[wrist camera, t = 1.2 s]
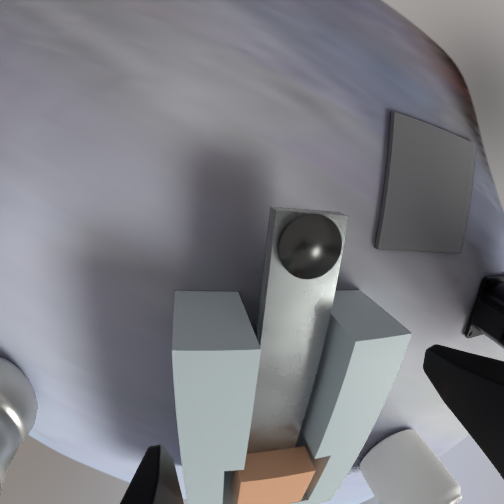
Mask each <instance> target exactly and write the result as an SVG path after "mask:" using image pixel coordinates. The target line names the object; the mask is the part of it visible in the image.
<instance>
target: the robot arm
mask: <svg viewBox="0 0 504 504" xmlns="http://www.w3.org/2000/svg"><path fill="white" fill-rule="evenodd" d="M482 334H484V335H486V336H487V337H489V338H490V339H491V340H493V341H494V342H496V343H497V344H498V345H500V346H501V347H502V348H504V276H489V277H485V278H484V279H483V281H482V284H481V288H480V291H479V294H478V298H477V301H476V304H475V307H474V310H473V313H472V316H471V318H470V321H469V324H468V327H467V329H466V332H465V337H467V338H472V337H475V336H479V335H482ZM423 369H424V372H425V373H426V375H427V376H428V378H429V379H430V381H431V383H432V384H433V386H434V387H435V389H436V390H437V392H438V393H439V395H440V397H441V398H442V399H443V401H444V402H445V404H446V405H447V406H448V407H449V409H450V410H451V411H452V412H453V414H454V415H455V416H456V417H457V419H458V420H459V421H460V422H461V424H462V425H463V426H464V427H465V429H466V430H467V431H468V433H469V434H470V435H471V436H472V438H473V439H474V440H475V442H476V443H477V444H478V445H479V447H480V448H481V449H482V450H483V452H484V453H485V454H486V456H487V457H488V458H489V460H490V461H491V463H492V464H493V465H494V467H495V468H496V469H497V471H498V472H499V473H500V475H501V476H502V478H503V479H504V361H500V360H496V359H492V358H488V357H484V356H480V355H476V354H472V353H468V352H464V351H460V350H456V349H453V348H449V347H445V346H441V345H437V344H436V345H433V346H431V347H429V348H428V349H427V350H426V352H425V358H424V363H423ZM120 504H184V503H183V498H182V494H181V490H180V486H179V482H178V478H177V473H176V469H175V465H174V461H173V459H172V457H171V456H170V455H169V453H168V452H167V451H166V450H165V448H164V447H163V446H162V445H156V446H150V447H149V448H148V449H147V451H146V453H145V455H144V457H143V459H142V461H141V463H140V465H139V467H138V469H137V471H136V473H135V475H134V477H133V479H132V481H131V483H130V485H129V487H128V489H127V491H126V493H125V495H124V497H123V499H122V501H121V502H120Z"/></svg>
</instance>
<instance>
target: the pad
mask: <svg viewBox="0 0 504 504" xmlns="http://www.w3.org/2000/svg"><path fill="white" fill-rule="evenodd" d="M475 154H476V144H475V143H473V142H470V141H468V140H466V139H464V138H462V137H459V136H457V135H455V134H452V133H450V132H448V131H445V130H443V129H440V128H438V127H435V126H433V125H430V124H428V123H425V122H423V121H420V120H417V119H414V118H412V117H409V116H406V115H403V114H400V113H397V112H391V123H390V136H389V148H388V158H387V168H386V177H385V185H384V192H383V200H382V206H381V213H380V219H379V226H378V231H377V237H376V243H375V248H376V249H383V250H406V251H428V252H449V253H461V249H462V244H463V239H464V234H465V229H466V224H467V218H468V213H469V206H470V200H471V193H472V185H473V176H474V166H475Z"/></svg>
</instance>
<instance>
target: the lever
mask: <svg viewBox="0 0 504 504" xmlns="http://www.w3.org/2000/svg"><path fill="white" fill-rule="evenodd" d="M347 221H348V216H347V215H344V214H342V213H339V212H331V211H320V210H308V209H296V208H283V207H270V213H269V222H268V232H267V241H266V251H265V260H264V269H263V278H262V288H261V296H260V305H259V314H258V323H257V332H256V338H257V340H258V343H259V345H260V348H261V354H260V362H259V369H258V377H257V384H256V391H255V399H254V406H253V413H252V420H251V427H250V434H249V440H248V447H247V454H249V453H259V452H267V451H275V450H282V449H289V448H295V445H296V442H297V439H298V436H299V433H300V430H301V426H302V423H303V420H304V416H305V413H306V409H307V406H308V403H309V399H310V395H311V392H312V388H313V385H314V381H315V377H316V373H317V369H318V365H319V362H320V358H321V353H322V349H323V345H324V341H325V337H326V332H327V328H328V323H329V319H330V314H331V310H332V305H333V300H334V295H335V290H336V285H337V280H338V275H339V269H340V264H341V258H342V252H343V246H344V240H345V234H346V228H347Z"/></svg>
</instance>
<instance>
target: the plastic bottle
mask: <svg viewBox="0 0 504 504" xmlns="http://www.w3.org/2000/svg"><path fill="white" fill-rule="evenodd" d="M37 408H38V406H37V400H36V396H35V392H34V389H33V387H32V385H31V383H30V382H29V380H28V379H27V377H26V376H25V375H24V374H23V373H22V371H21V370H20V369H19V368H17V367H16V366H15V365H14V364H12V363H11V362H10V361H8V360H6V359H4V358H2V357H0V495H1V491H2V488H1V486H2V485H3V483H4V479H5V475H6V472H7V470H8V468H9V466H10V464H11V462H12V460H13V458H14V456H15V454H16V452H17V450H18V448H19V446H20V444H21V443H22V442H23V441H24V440H25V438H26V437H27V435H28V434H29V432H30V431H31V429H32V427H33V426H34V423H35V419H36V413H37Z"/></svg>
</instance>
